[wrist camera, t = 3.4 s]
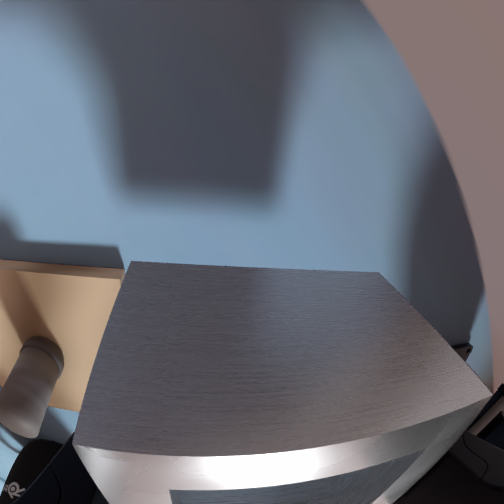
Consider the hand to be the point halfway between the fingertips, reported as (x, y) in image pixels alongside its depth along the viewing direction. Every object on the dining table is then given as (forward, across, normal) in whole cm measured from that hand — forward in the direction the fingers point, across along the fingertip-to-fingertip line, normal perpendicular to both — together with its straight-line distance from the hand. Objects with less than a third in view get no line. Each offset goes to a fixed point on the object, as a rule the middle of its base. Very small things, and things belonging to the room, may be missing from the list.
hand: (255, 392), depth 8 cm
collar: (+1, 0, 0) cm, 1 cm away
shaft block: (+7, +10, +5) cm, 13 cm away
